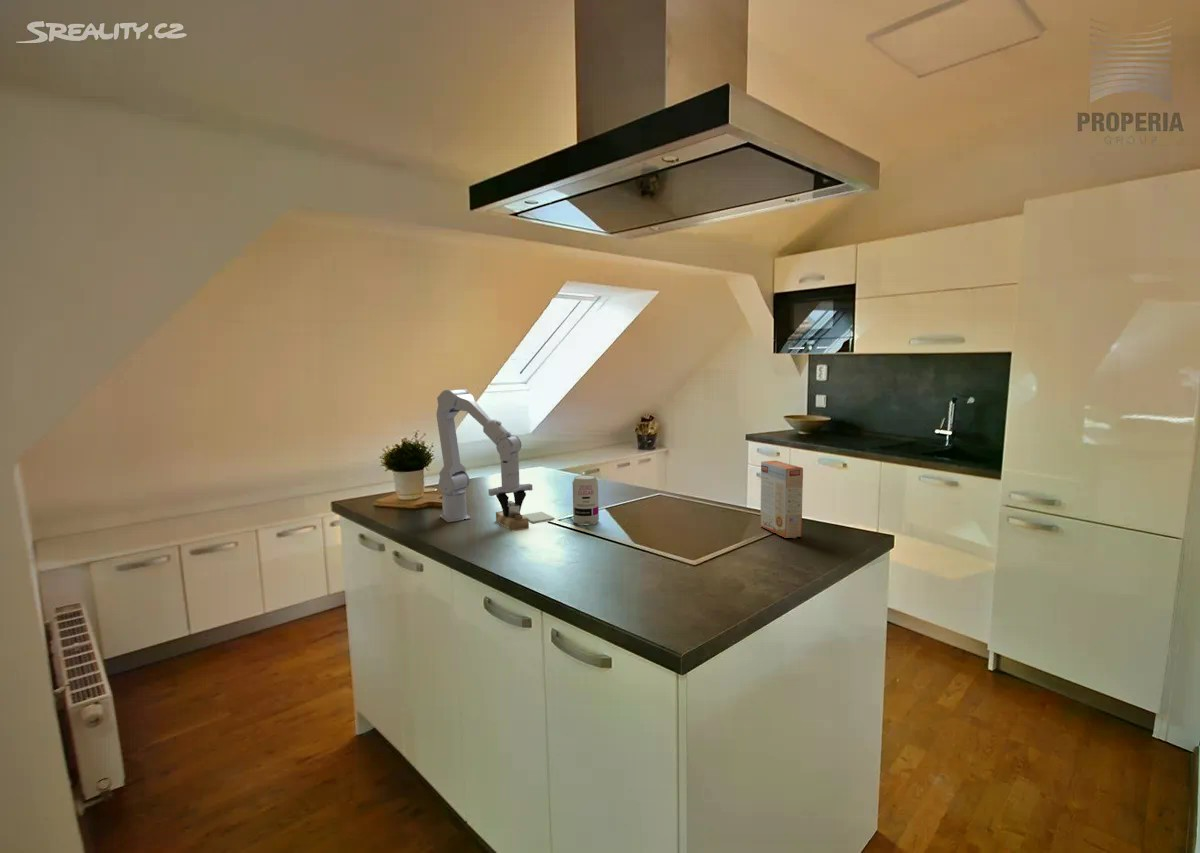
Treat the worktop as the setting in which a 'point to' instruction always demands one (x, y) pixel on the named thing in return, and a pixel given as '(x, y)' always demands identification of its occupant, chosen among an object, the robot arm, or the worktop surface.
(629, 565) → the worktop surface
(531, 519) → the rubber mat
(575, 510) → the supplement can
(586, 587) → the worktop surface
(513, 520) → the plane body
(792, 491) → the cracker box
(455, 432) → the robot arm
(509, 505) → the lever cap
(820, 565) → the worktop surface
